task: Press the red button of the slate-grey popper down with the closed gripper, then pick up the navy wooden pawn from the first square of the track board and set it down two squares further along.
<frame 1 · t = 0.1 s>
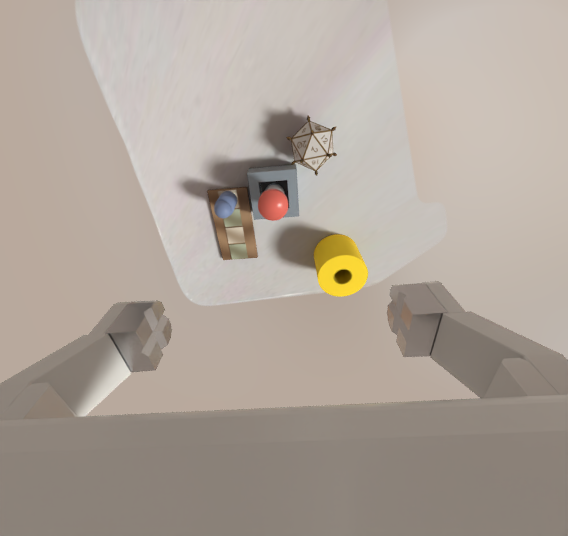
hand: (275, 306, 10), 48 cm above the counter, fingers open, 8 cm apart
game die: (310, 143, 51), on the counter
pawn: (228, 199, 56), point 1 cm above the counter, touching track board
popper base: (274, 189, 55), on the counter
yellow hollow cylinder: (335, 253, 64), on the counter
plunger: (273, 199, 50), point 6 cm above the counter, slide at 0.0 cm
track board: (234, 225, 60), on the counter
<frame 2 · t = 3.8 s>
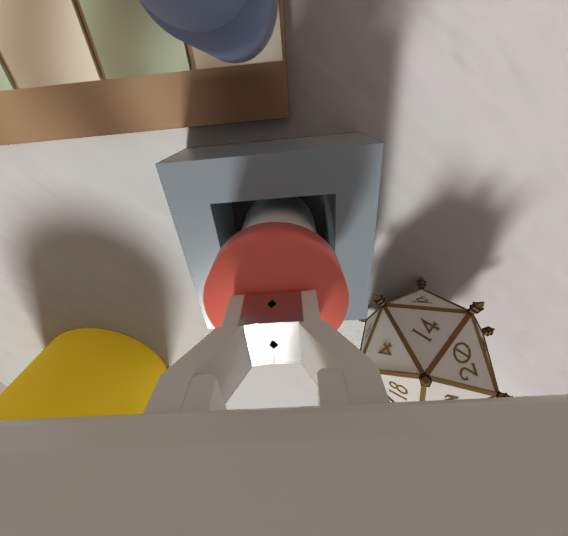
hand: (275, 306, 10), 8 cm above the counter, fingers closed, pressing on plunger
game die: (397, 307, 20), on the counter
pawn: (231, 5, 11), point 1 cm above the counter, touching track board
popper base: (279, 221, 16), on the counter
yellow hollow cylinder: (111, 368, 24), on the counter
plunger: (278, 257, 13), point 4 cm above the counter, slide at 2.2 cm, touching gripper
track board: (97, 28, 12), on the counter
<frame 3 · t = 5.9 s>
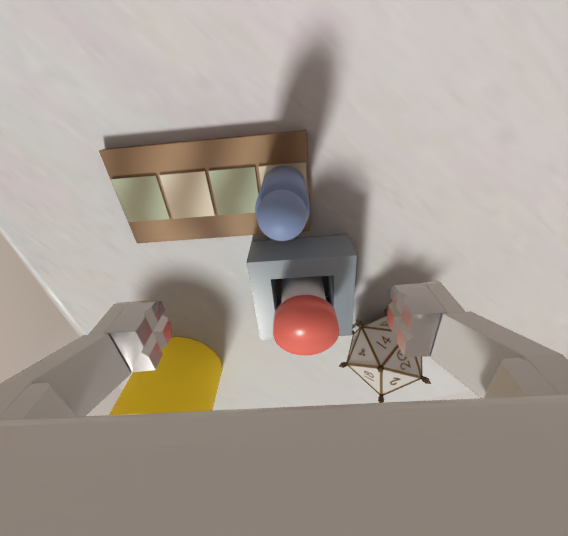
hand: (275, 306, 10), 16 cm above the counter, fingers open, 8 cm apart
game die: (373, 325, 32), on the counter
pawn: (284, 188, 22), point 1 cm above the counter, touching track board
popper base: (301, 277, 28), on the counter
yellow hollow cylinder: (183, 363, 36), on the counter
plunger: (303, 304, 24), point 4 cm above the counter, slide at 2.2 cm
track board: (214, 190, 23), on the counter
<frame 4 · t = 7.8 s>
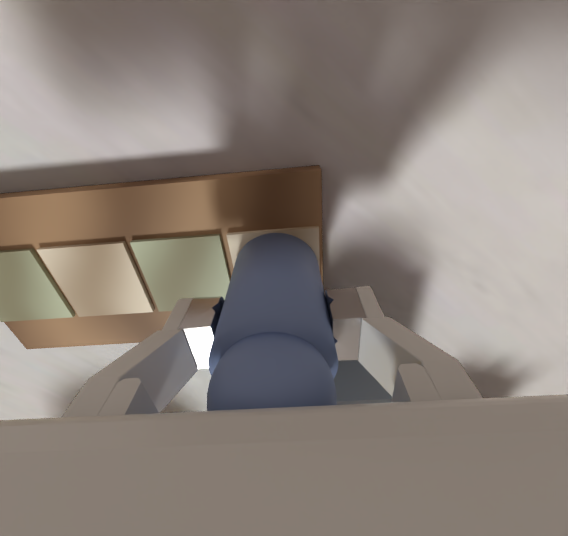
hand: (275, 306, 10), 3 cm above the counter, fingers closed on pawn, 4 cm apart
pawn: (276, 270, 12), point 1 cm above the counter, touching gripper, track board
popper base: (307, 385, 18), on the counter
track board: (151, 268, 13), on the counter
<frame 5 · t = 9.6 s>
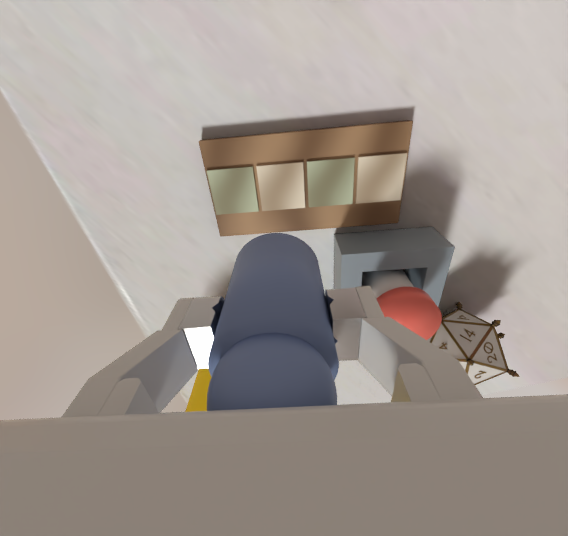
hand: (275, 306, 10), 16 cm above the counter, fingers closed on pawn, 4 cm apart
game die: (441, 319, 32), on the counter
pawn: (276, 271, 12), point 14 cm above the counter, touching gripper
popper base: (378, 270, 28), on the counter
yellow hollow cylinder: (243, 359, 36), on the counter
plunger: (392, 297, 24), point 4 cm above the counter, slide at 2.2 cm
track board: (305, 182, 23), on the counter
when the fingers open (5 cm above the counter, at t = 11.9 s): pawn drops 1 cm, resting on track board.
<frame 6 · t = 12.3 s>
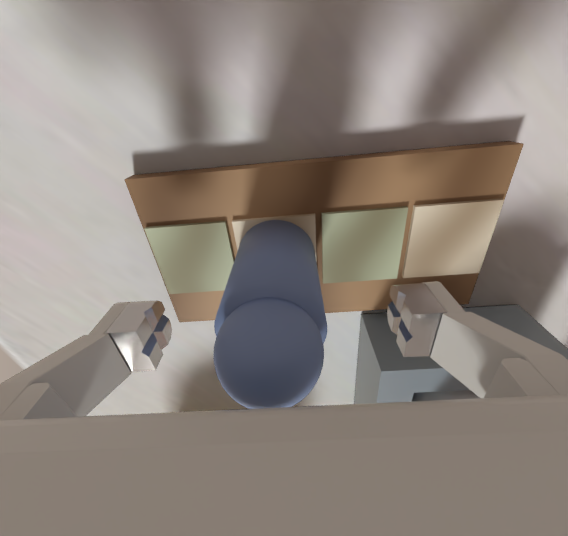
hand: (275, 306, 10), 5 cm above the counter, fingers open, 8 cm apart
pawn: (276, 255, 13), point 1 cm above the counter, touching track board
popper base: (424, 360, 18), on the counter
plunger: (458, 425, 15), point 4 cm above the counter, slide at 2.2 cm
track board: (317, 242, 14), on the counter
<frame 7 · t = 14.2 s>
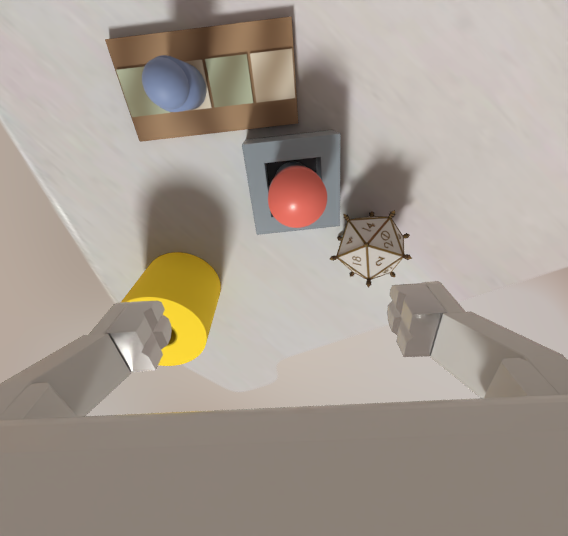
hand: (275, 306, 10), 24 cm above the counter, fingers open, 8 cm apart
game die: (360, 232, 35), on the counter
pawn: (186, 87, 25), point 1 cm above the counter, touching track board
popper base: (292, 179, 31), on the counter
yellow hollow cylinder: (184, 283, 38), on the counter
plunger: (295, 189, 27), point 4 cm above the counter, slide at 2.2 cm
track board: (210, 85, 26), on the counter
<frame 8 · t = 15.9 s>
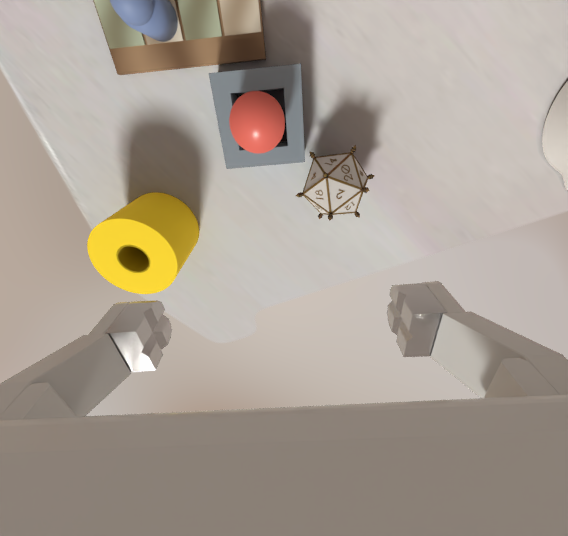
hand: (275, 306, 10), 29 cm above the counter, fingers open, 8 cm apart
game die: (330, 177, 36), on the counter
pawn: (158, 18, 27), point 1 cm above the counter, touching track board
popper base: (263, 118, 32), on the counter
yellow hollow cylinder: (164, 226, 40), on the counter
plunger: (260, 121, 29), point 4 cm above the counter, slide at 2.2 cm
track board: (182, 18, 28), on the counter
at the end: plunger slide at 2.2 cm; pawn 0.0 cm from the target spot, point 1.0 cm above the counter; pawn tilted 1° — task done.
